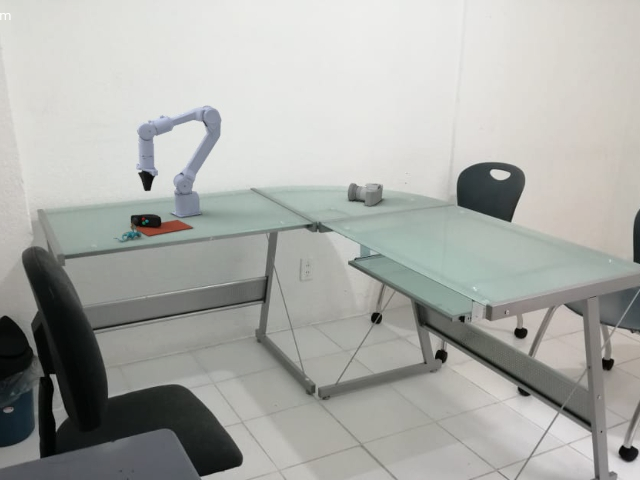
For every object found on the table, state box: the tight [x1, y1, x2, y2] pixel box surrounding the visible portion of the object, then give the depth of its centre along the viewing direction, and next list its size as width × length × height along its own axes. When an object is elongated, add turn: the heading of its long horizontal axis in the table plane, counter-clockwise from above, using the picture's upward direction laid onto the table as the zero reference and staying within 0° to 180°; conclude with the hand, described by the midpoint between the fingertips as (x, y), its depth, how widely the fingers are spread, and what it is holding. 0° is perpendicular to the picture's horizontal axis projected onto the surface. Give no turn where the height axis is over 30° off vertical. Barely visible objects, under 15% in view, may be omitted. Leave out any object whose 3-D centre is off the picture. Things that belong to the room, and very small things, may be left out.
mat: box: [134, 219, 194, 237], centre depth 226 cm, size 18×12×1 cm, turn 128°
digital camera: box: [347, 182, 384, 207], centre depth 270 cm, size 17×14×10 cm
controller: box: [130, 213, 162, 227], centre depth 227 cm, size 4×12×10 cm
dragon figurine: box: [113, 222, 142, 243], centre depth 212 cm, size 6×7×8 cm
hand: (147, 190), depth 236 cm, fingers closed
